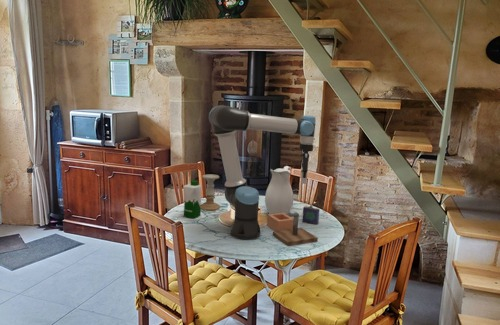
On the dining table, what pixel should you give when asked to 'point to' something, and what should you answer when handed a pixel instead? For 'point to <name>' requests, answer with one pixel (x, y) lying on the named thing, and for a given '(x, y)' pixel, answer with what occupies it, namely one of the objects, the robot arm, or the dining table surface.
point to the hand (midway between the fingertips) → (303, 181)
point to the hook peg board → (293, 238)
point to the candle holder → (210, 193)
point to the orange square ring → (279, 221)
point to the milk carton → (192, 200)
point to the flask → (310, 215)
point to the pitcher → (279, 192)
